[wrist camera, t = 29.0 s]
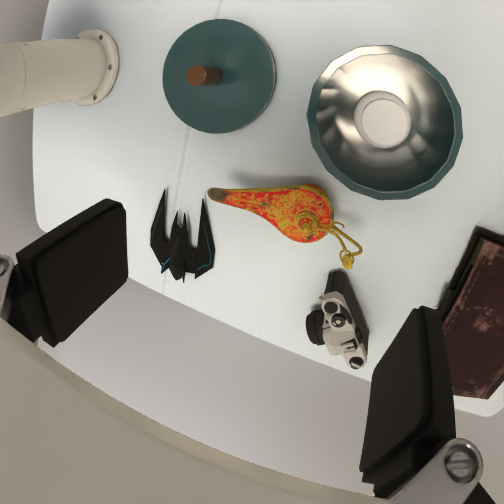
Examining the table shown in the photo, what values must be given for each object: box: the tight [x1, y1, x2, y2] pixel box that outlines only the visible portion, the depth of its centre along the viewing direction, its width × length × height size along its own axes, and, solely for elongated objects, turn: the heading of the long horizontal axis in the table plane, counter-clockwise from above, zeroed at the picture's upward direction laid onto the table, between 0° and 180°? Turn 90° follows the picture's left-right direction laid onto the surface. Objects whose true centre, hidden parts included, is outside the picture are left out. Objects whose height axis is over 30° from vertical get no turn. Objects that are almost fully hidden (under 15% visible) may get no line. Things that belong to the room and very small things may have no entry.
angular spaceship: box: [150, 189, 215, 283], centre depth 47 cm, size 11×15×3 cm
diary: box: [437, 228, 504, 400], centre depth 36 cm, size 19×25×5 cm
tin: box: [307, 45, 463, 200], centre depth 28 cm, size 14×14×10 cm
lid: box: [163, 19, 275, 134], centre depth 33 cm, size 15×15×6 cm
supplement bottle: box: [354, 90, 411, 148], centre depth 27 cm, size 5×5×10 cm
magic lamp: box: [207, 184, 362, 269], centre depth 35 cm, size 7×18×11 cm, turn 76°
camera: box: [306, 269, 369, 369], centre depth 42 cm, size 13×8×9 cm, turn 32°
